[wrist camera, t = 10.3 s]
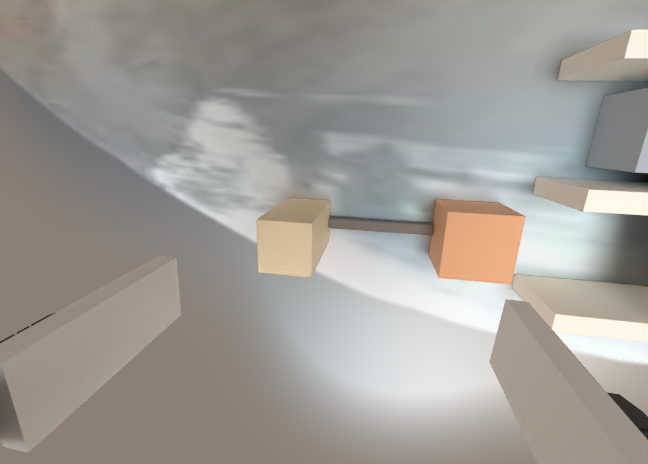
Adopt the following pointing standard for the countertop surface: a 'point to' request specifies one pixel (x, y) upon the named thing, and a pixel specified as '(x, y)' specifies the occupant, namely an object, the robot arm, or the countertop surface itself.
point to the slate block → (622, 133)
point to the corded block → (446, 232)
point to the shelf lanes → (595, 196)
